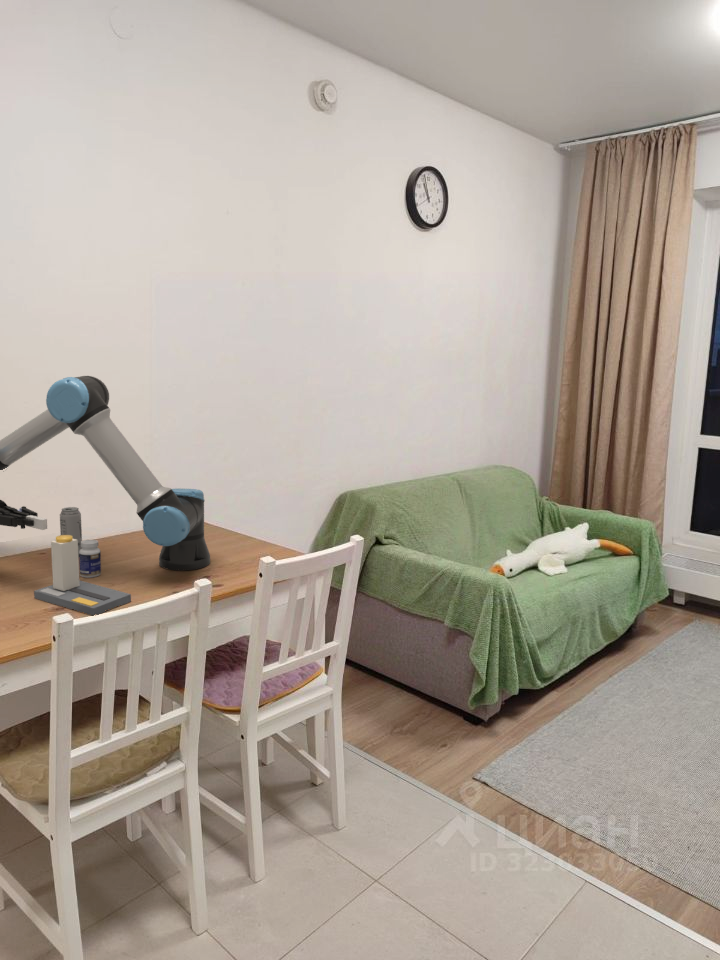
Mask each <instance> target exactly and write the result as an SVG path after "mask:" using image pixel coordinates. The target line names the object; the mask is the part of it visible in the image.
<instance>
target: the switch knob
mask: <svg viewBox="0 0 720 960" xmlns="http://www.w3.org/2000/svg"><path fill="white" fill-rule="evenodd" d="M50 546H51V547H50V549H51V568H52V569H51V570H52V585H53V588H54V589H58V590H61V591H66V590H69V589H72V588H74V587H77V586H80V584H79V580H80V563H79V557H78V540H76V539H73V536H71V535H61V534H60V535H57V536H55V540H51V541H50Z"/></svg>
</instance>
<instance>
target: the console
mask: <svg viewBox="0 0 720 960" xmlns="http://www.w3.org/2000/svg"><path fill="white" fill-rule="evenodd" d="M79 584H80V586H77V587H74V588H72V589H69V590H66V591H61V590H58V589H54V588H53V584H52V585H48V586H47V585H46V586H45V587H41V588H38V589H36V590H33V596H34V599H36V600H39V601H43V602H46V603H49V604H52V605H55V604H56V606H60V607H62V606H63V608H65V607H66V609H69V610H72V609H74V611H75V610H77V611H76V612H79V611H80V613H82V612H84V613H83V614H85V613H87V614H86V615H89V614H91V615H90V616H92V615H95V614H98V615H101V614H103V613H106V612H105V610H108V609H111V608H113V609H115V608H114V607H116V606H118V607H120V606H119V605H121V606H124V605H126V604H129V603H130V602H132V595H131V593H128V592H124V591H120V590H116V589H113V588H109V587H106V586H101V585H99V584H95V583H90V582H87V581H84V580H80V579H79ZM116 608H117V607H116ZM111 610H112V609H111ZM108 611H109V610H108ZM95 616H96V615H95Z"/></svg>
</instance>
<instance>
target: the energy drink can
mask: <svg viewBox="0 0 720 960" xmlns="http://www.w3.org/2000/svg"><path fill="white" fill-rule="evenodd" d="M59 527H60V529H59V531H60V535H71V536H73V539H76V540H78V558H79V551H80V550H81V549H82V547H81V541H83V533H82V532H83V530H82V513H81V511H80V509H79V507H75V506H68V507H64V508H61V512H60V514H59Z"/></svg>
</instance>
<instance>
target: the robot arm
mask: <svg viewBox="0 0 720 960" xmlns="http://www.w3.org/2000/svg"><path fill="white" fill-rule="evenodd" d="M109 401H110V392H109V389H108V387H107V386H106V384H105V383H104V382H103V381H102V380H101V379H99V378H97V377H95V376H92V375H82V376H67V377H63V378H62V379H59V380H57V381H56V382H54V383H52V385H51V386H50V387H49V389H48V390H47V393H46V399H45V404H46V408H47V409H46V410H44V411H43V412H42V413H40V414H38V415H36V416H34V418H32V419H31V420H29V421H28V422H26V423H24V424H23V425H21V426H20V427H17V429H15V430H14V431H12V432H11V433H9V434H8V435H6V436H4V437H3V438H1V439H0V470H3V469H5V468H7V467H8V468H9V467H10V466H11V465H12V464H14V463H15V462H17V461H18V460H20V459H22V458H23V457H25V456H26V455H28V454H29V453H31V452H32V451H34V450H36V449H37V448H39V447H41V446H42V445H44V444H45V443H46V442H48V441H49V440H51V439H53V438H54V437H56V436H57V435H59V434H62V432H64V431H65V430H67V429H68V428H69V429H70V430H71V431H72V433H73V434H75V435H79V436H83V437H84V439H85V440H86V441H87V442H88V444H89V445H90V446H91V449H93V450H94V451H95V453H96V454H97V456H98V457H99V458H100V459H101V460H102V462H103V463H104V465H105V466H106V467H107V468H108V469H109V471H110V472H111V474H112V475H114V478H116V480H117V481H118V482H119V483H120V485H121V486H122V488H123V489H124V490H125V491H126V493H127V494H128V495H129V496H130V498H131V499H132V500H133V502H134V503H135V505H136V515H137V516H138V517H139V518H140V520H141V521H142V529H143V533H144V534H145V536H146V538H147V539H148V540H149V541H150V542H151V543H153V544H155V545H158V546H161V550H160V553H159V557H158V560H159V562H158V565H159V566H160V568H162V569H165V570H171V571H193V570H198V569H202V568H205V567H207V566H209V565H210V564H211V554H210V551H209V548H208V546H207V545H208V544H207V542H206V539H205V497H204V492H203V491H202V490H200V489H196V488H171V487H166V486H163V485H162V483H160V481H159V480H158V479H157V477H156V476H155V475H154V473H153V472H152V470H150V468H149V467H148V465H147V464H146V463H145V461H144V460H143V459H142V458H141V456H140V455H139V454H138V453H137V451H136V450H135V449H134V447H133V446H132V445H131V443H130V442H129V441H128V440H127V438H126V437H125V436H124V434H123V433H122V432H121V431H120V430H119V428H118V427H117V425H116V424H115V422H114V421H113V420H112V418H111V417H110V416H111V408H110V407H109V406H108V405H109ZM8 468H7V469H8ZM0 526H5V527H12V528H13V527H14V528H17V527H18V526H20V529H23V530H25V529H26V527H27V528H28V527H29V528H33V529H37V530H41V531H45V530H47V529H48V519H47V518H46V517H41V516H39V515H38V512H37V511H34V510H31V509H29V508H27V506H25V505H23V506H20V507H19V509H17V508H16V507H12V506H9V505H8V504H7V503H6V502H5V501H4V500H2V499H0Z"/></svg>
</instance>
